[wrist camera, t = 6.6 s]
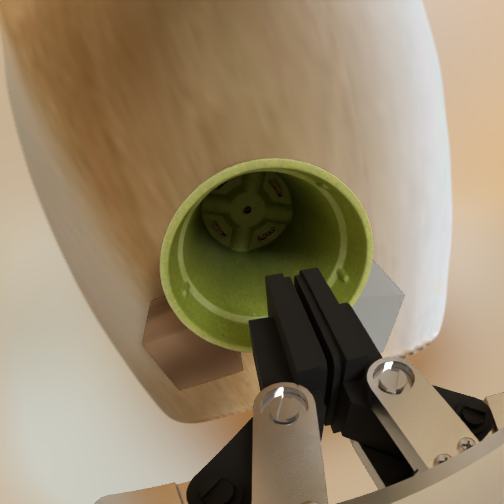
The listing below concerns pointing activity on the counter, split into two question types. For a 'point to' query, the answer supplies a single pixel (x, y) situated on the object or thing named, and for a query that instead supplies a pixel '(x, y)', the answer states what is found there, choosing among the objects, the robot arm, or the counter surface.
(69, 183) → the counter surface
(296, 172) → the plant pot
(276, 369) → the robot arm
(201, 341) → the walnut block
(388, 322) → the slate block
